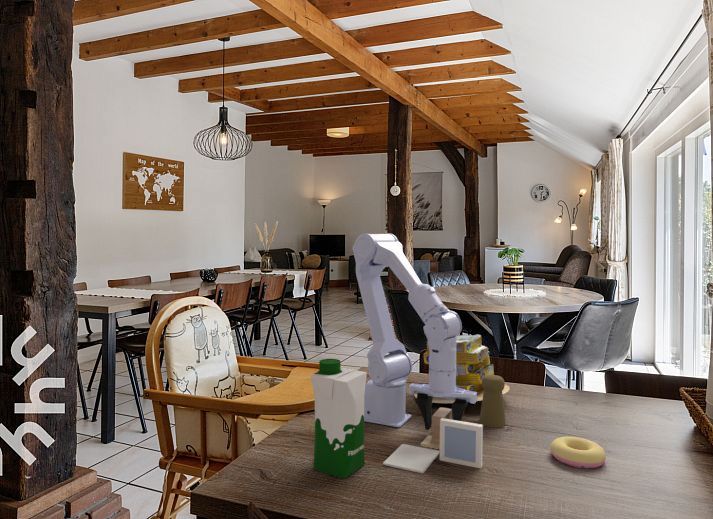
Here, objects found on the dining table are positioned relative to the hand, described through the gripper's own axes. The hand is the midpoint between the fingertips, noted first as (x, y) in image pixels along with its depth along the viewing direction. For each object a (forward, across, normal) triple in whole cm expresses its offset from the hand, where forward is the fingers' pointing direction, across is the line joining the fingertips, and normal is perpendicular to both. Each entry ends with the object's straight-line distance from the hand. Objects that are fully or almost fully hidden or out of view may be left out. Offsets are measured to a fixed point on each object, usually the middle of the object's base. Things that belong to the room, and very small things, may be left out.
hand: (441, 430), depth 114 cm
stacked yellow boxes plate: (+2, -3, +28) cm, 29 cm away
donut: (+2, +27, +2) cm, 27 cm away
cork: (+2, +8, +14) cm, 16 cm away
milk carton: (+2, -13, -22) cm, 26 cm away
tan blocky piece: (+1, 0, -2) cm, 2 cm away
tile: (+2, +7, -10) cm, 13 cm away
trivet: (+1, -2, -13) cm, 13 cm away
